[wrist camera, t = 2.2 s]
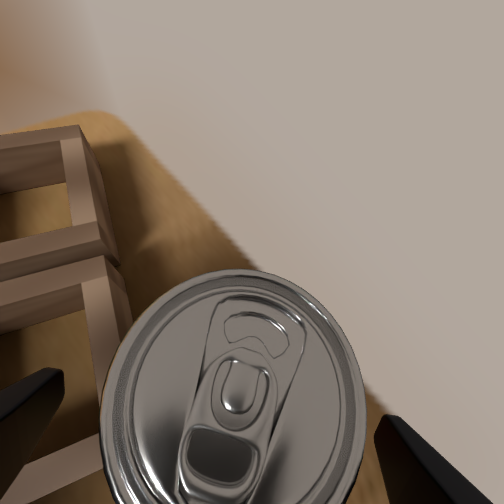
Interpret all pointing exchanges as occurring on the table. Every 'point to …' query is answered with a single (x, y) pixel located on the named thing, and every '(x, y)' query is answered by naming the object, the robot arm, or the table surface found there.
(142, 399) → the soda can
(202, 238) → the table surface
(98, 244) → the socket block
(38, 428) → the robot arm
